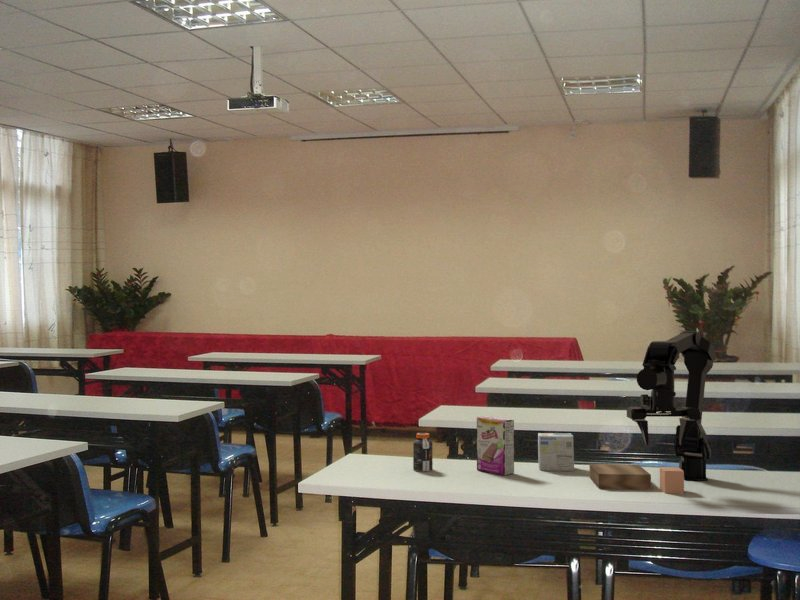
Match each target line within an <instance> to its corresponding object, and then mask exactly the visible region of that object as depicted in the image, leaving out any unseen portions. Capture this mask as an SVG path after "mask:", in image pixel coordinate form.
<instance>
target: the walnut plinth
mask: <svg viewBox="0 0 800 600" xmlns="http://www.w3.org/2000/svg"><path fill="white" fill-rule="evenodd" d="M589 479H590V480H591V481H592V483H593V484H594V485H595V486H596V488H598V489H600V490H601V489H602V490H605V489H606V490H652V474H651V473H650V472H648V471H647V470H646V469H645V468H644V467H642V466H641V465H639V464H615V463H614V464H612V463H611V464H608V463H607V464H604V463H603V464H601V463H600V464H599V463H589Z"/></svg>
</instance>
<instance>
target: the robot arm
mask: <svg viewBox="0 0 800 600" xmlns="http://www.w3.org/2000/svg"><path fill="white" fill-rule="evenodd" d="M716 353H717V352H716V349H715V348H714V345H712V342H711V341H709V340H707V339H706V338H705V337H703V336H702V335H701V334H700V332H697V331H692V330H691V331H682V332H681V331H680V332H679V334H677V335H675V336H673V337H671V338H669V339H668V340H654V341H651V342H650V343H649V345H648V346H647V348H646V352H645V355H644V358H643V361H642V367H643V369H641V370H640V371H638V373H637V376H636V383H637V385H638V386H639V387H640V388H641V389H642V390H644V391H651V392H650V393H651V394H650V396H649V394H647V393H646V394H640V397H639V399H640V406H628V407H627V409H626V417H627V418H629V419H630V420H631V421H633V422H635V423H636V424H637V426H638V427H639V430H640V433H641V436H642V438H643V441H644V444H645V445H646V446H649V423H648V420H647V419H646V418H647V417H653V418H654V417H655V418H656V417H671V418H672V417H676V418H677V417H678V420H679V425H678V424H677V426H676V427H675V436H674V439H673V445H674V450H675V456H676V457H680V460H679V461H678V468H680V469H681V470H683V471H684V481H685V480H686V481H709V478H708V477H707V460H711V457H712V449H711V446H710V444H709V442H708V440H707V432H706V431H705V429H704V427H703V425H702V421H703V420H702V419H703V418H702V417H703V407H704V398H705V387H706V380H707V379H706V377H707V374H708V373H709V372H710V371H711V370H712V368H713V366H714V361H715V359H716V356H717V355H716ZM680 354H681V356H682V357H683V364H684V365H685V368H686V369H687V371H688V377H687V384H686V385H687V386H686V388H687V389H686V396H685V405H684V406H681V407H680V409H676V408H677V407H676V406H675V405H676V404H675V401H676V399H675V397H676V396H677V395H676V391H675V371H676V370H677V367H676V366H675V365H676V363H677V361H678V360H679V359H680ZM645 407H646V408H647V409H646V408H645Z"/></svg>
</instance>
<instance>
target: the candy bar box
mask: <svg viewBox="0 0 800 600" xmlns="http://www.w3.org/2000/svg"><path fill="white" fill-rule="evenodd" d="M476 471H480V472H484V473H491V474H496V475H500V476H509V475H512V474H515V420H514V419H512V418H504V417H499V416H498V417H496V416H489V415H484V416H477V417H476Z"/></svg>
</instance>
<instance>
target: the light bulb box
mask: <svg viewBox="0 0 800 600" xmlns="http://www.w3.org/2000/svg"><path fill="white" fill-rule="evenodd" d="M574 442H575V441H574V435H573V434H572V433H569V432H567V433H563V432H562V433H561V432H560V433H559V432H554V433H553V432H548V433H547V432H544V433H541V432H538V433H537V450H538V451H537V454H538V455H537V457H538V458H537V459H538V470H539V471H540V470H541V471H551V472H553V471H554V472H555V471H556V472H557V471H558V472H560V471H561V472H564V471H565V472H570V471H571V472H574V471H575V459H574V458H575V450H574V449H575V448H574Z"/></svg>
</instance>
